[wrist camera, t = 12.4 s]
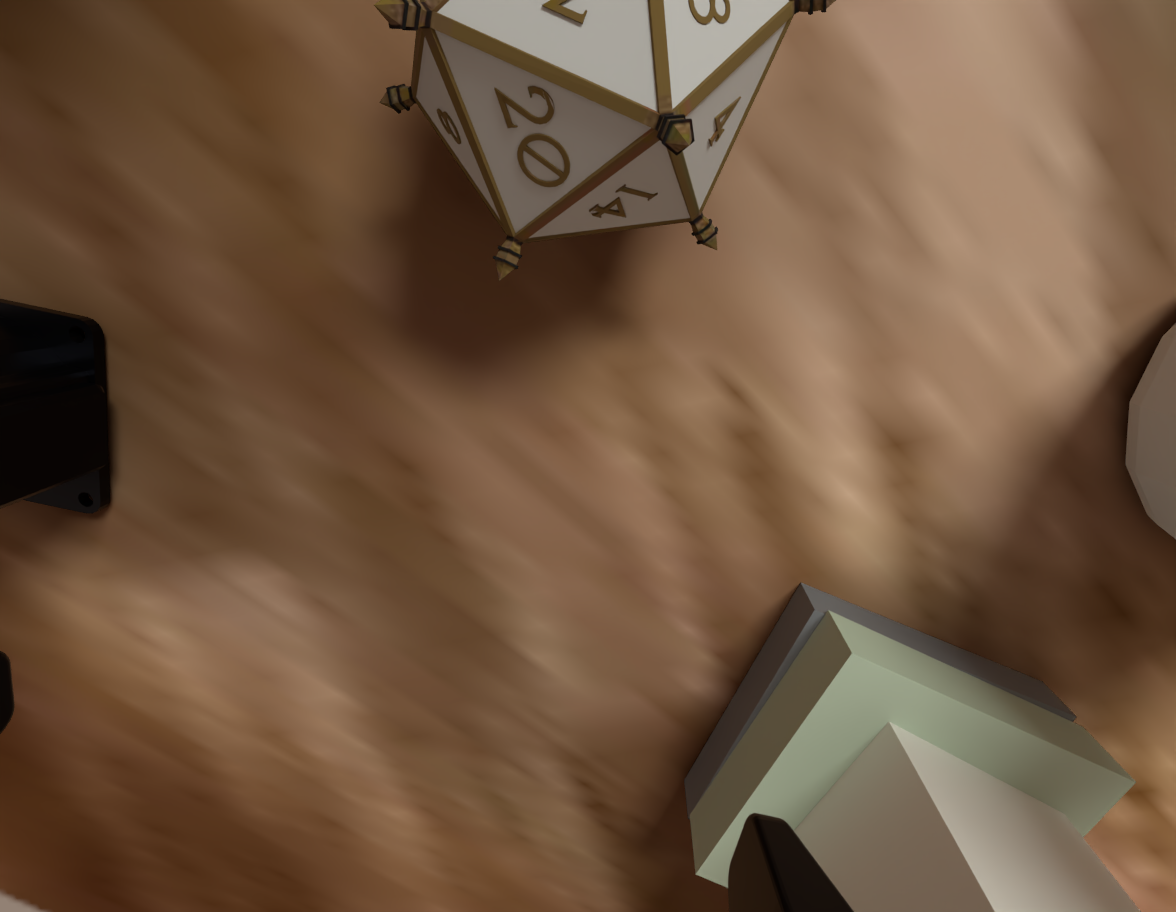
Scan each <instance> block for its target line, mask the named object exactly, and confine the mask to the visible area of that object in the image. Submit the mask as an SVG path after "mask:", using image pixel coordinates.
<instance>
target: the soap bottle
mask: <svg viewBox="0 0 1176 912" xmlns="http://www.w3.org/2000/svg"><path fill="white" fill-rule="evenodd" d="M1125 465H1126V467H1127V469H1128V472H1129V474H1130V476H1131V479H1132V481H1133V483H1134V486H1135V488H1136V490H1137V492H1138V495H1139V497H1140V499H1141V502H1142V504H1143V506H1144V509H1145V511H1146V513H1147V515H1148V516H1149V517H1150V518H1151V519H1152V520H1153V521H1154V522H1155V523H1156V524H1157V525H1158V526H1159V527H1161V528H1162V529H1163V530H1165V531H1166V532H1167V533H1168V534H1170V535H1171V536H1172V537H1174V538H1175V539H1176V323H1175V324H1174V325H1173V326H1172V327H1171V328H1170V329H1169V330H1168V331H1167V332H1166V333H1165V334H1164V335H1163V336H1162V338H1161V340H1160V342H1159V344H1158V346H1157V348H1156V350H1155V352H1154V354H1153V356H1152V358H1151V360H1150V362H1149V364H1148V366H1147V368H1146V370H1145V372H1144V374H1143V376H1142V378H1141V380H1140V382H1139V384H1138V386H1137V388H1136V390H1135V392H1134V394H1133V396H1132V398H1131V400H1130V402H1129V417H1128V431H1127V446H1126V460H1125Z"/></svg>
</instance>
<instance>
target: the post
mask: <svg viewBox="0 0 1176 912" xmlns="http://www.w3.org/2000/svg"><path fill="white" fill-rule="evenodd" d="M794 832H795V833H796V834H797V836H798V837H799V838H800V840H801V841H802V843H803V844H804V845H805V847H806V848H807V849H808V851H809V852H810V853H811V855H812V856H813V857H814V859H815V860H816V861H817V863H818V864H819V865H820V867H821V868H822V869H823V871H824V872H825V873H826V875H827V876H828V877H829V879H830V880H831V881H832V883H833V884H834V885H835V887H836V888H837V889H838V891H839V892H840V893H841V895H842V896H843V897H844V899H845V900H846V901H847V903H848V904H849V905H850V907H851V908H852V909H853V911H854V912H1141V911H1140V910H1139V909H1138V907H1137V906H1136V905H1135V903H1134V902H1133V901H1132V900H1131V898H1130V897H1129V896H1128V895H1127V893H1126V892H1125V891H1124V889H1123V888H1122V887H1121V886H1120V884H1119V883H1118V882H1117V880H1116V879H1115V878H1114V877H1113V875H1112V874H1111V873H1110V871H1109V870H1108V869H1107V868H1106V866H1105V865H1104V864H1103V863H1102V861H1101V860H1100V859H1099V857H1098V856H1097V855H1096V854H1095V852H1094V851H1093V850H1092V848H1091V847H1090V846H1089V845H1088V843H1087V842H1086V841H1085V840H1084V838H1083V837H1082V836H1081V834H1080V833H1079V832H1078V831H1077V829H1076V828H1075V827H1074V825H1073V824H1072V823H1071V822H1070V820H1069V819H1068V818H1067V816H1066V815H1065V814H1064V813H1062V812H1060V811H1058V810H1056V809H1054V808H1052V807H1050V806H1048V805H1047V804H1045V803H1043V802H1041V801H1039V800H1037V799H1035V798H1033V797H1031V796H1029V795H1028V794H1026V793H1024V792H1022V791H1020V790H1018V789H1016V788H1014V787H1012V786H1010V785H1009V784H1007V783H1005V782H1003V781H1001V780H999V779H997V778H995V777H993V776H991V775H990V774H988V773H986V772H984V771H982V770H980V769H978V768H976V767H974V766H972V765H971V764H969V763H967V762H965V761H963V760H961V759H959V758H957V757H955V756H953V755H952V754H950V753H948V752H946V751H944V750H942V749H940V748H938V747H936V746H934V745H933V744H931V743H929V742H927V741H925V740H923V739H921V738H919V737H917V736H915V735H914V734H912V733H910V732H908V731H906V730H904V729H902V728H900V727H898V726H896V725H895V724H893V723H891V722H888V723H887V724H886V726H885V727H884V728H883V729H882V730H881V731H880V732H879V734H878V735H877V736H876V737H875V738H874V739H873V740H872V742H871V743H870V744H869V745H868V746H867V747H866V748H865V750H864V751H863V752H862V753H861V754H860V755H859V756H858V758H857V759H856V760H855V761H854V762H853V763H852V765H851V766H850V767H849V768H848V769H847V770H846V771H845V773H844V774H843V775H842V776H841V777H840V778H839V779H838V781H837V782H836V783H835V784H834V785H833V786H832V788H831V789H830V790H829V791H828V792H827V793H826V794H825V796H824V797H823V798H822V799H821V800H820V801H819V803H818V804H817V805H816V806H815V807H814V808H813V809H812V811H811V812H810V813H809V814H808V815H807V816H806V818H805V819H804V820H803V821H802V822H801V823H800V824H799V826H798V827H797V828H796V829H795V830H794Z"/></svg>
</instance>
